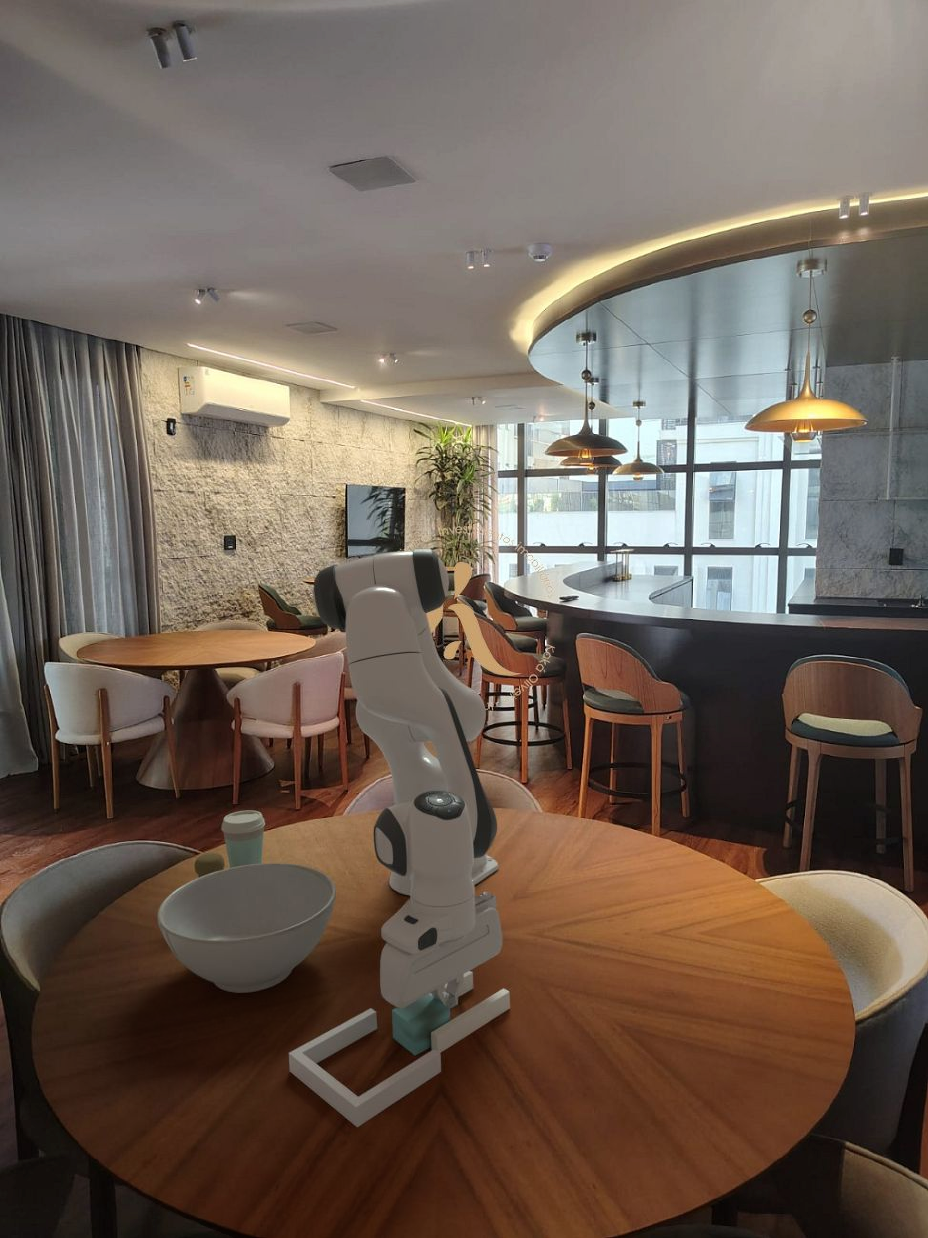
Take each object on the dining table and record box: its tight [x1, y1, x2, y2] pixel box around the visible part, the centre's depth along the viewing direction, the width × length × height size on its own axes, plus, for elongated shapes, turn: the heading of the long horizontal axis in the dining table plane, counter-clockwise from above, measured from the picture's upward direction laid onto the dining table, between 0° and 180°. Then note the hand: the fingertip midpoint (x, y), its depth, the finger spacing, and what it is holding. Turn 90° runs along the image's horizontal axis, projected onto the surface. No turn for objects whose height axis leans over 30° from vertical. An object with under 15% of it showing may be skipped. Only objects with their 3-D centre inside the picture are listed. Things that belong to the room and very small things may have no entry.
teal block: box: [391, 994, 451, 1056], centre depth 110 cm, size 6×5×4 cm
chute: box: [429, 970, 511, 1053], centre depth 114 cm, size 14×9×2 cm, turn 134°
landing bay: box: [288, 1007, 442, 1128], centre depth 103 cm, size 13×14×2 cm
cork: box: [194, 852, 226, 878], centre depth 147 cm, size 6×6×11 cm
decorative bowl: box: [157, 862, 337, 994], centre depth 127 cm, size 27×27×12 cm
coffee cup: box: [220, 809, 266, 868], centre depth 164 cm, size 8×9×12 cm
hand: (446, 1007), depth 113 cm, fingers closed
